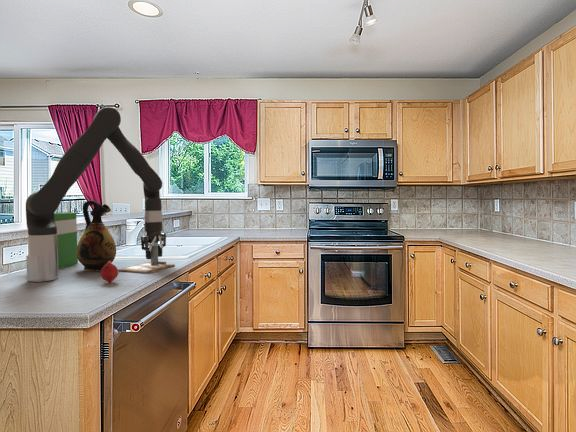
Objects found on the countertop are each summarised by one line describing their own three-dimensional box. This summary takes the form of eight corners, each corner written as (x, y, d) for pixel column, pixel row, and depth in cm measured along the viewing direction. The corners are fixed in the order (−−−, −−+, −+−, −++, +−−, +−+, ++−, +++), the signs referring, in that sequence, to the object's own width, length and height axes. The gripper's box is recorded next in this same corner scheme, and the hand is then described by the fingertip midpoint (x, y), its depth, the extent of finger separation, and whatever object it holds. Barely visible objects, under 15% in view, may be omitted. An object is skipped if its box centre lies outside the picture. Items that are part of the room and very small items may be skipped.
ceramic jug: (124, 266, 172) (122, 199, 170) (101, 273, 157) (99, 200, 155) (90, 265, 175) (88, 199, 173) (65, 272, 160) (62, 200, 158)
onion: (109, 285, 136) (108, 262, 136) (97, 283, 138) (96, 261, 138) (121, 281, 142) (121, 260, 141) (109, 280, 144) (109, 259, 143)
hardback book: (54, 270, 164) (52, 214, 162) (37, 270, 164) (35, 214, 163) (77, 263, 181) (76, 212, 180) (62, 263, 181) (60, 212, 180)
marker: (155, 265, 169) (154, 243, 169) (148, 265, 170) (148, 242, 170) (160, 264, 172) (159, 242, 172) (154, 263, 173) (153, 241, 173)
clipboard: (147, 273, 156) (147, 269, 156) (118, 271, 161) (118, 266, 161) (174, 266, 173) (174, 262, 173) (147, 264, 178) (147, 260, 178)
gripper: (157, 219, 178) (158, 255, 179) (135, 221, 165) (136, 260, 166) (170, 220, 176) (171, 256, 177) (149, 222, 162) (150, 261, 163)
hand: (154, 257), depth 171 cm, fingers open, 6 cm apart
